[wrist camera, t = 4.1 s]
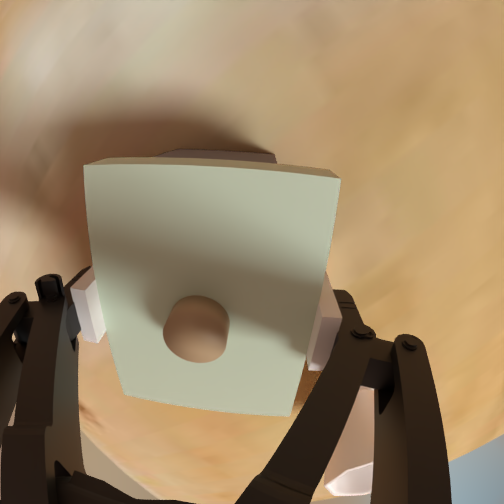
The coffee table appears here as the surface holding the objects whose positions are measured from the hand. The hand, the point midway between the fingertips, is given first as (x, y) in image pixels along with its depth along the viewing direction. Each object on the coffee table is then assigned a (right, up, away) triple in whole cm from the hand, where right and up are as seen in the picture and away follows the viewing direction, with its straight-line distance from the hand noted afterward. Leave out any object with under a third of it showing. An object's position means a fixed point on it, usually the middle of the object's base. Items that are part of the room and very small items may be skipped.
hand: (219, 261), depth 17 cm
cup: (+10, -10, +5) cm, 15 cm away
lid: (0, -1, -3) cm, 4 cm away
